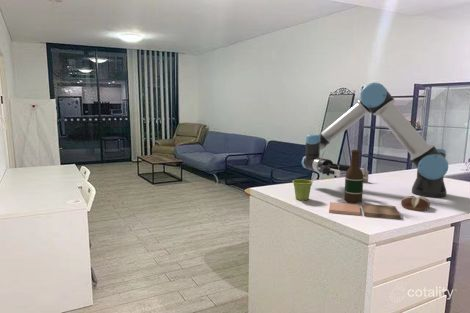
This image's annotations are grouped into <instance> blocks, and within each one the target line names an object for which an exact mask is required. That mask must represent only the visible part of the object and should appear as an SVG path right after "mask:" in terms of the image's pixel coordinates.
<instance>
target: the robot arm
mask: <svg viewBox="0 0 470 313" xmlns="http://www.w3.org/2000/svg"><path fill="white" fill-rule="evenodd" d="M359 96H360V97H359V98H358V99H357V102H356V103H355V104H354V105H353V106H352V107H350V108H349V109H348V110H347V111H346V112H344V113H343V114H342V115H341V116H340V117H339V118H337V119H336V120H335V121H334V122H333V123H331V124H330V125H329V126H327V127H326V128H325V129H324V130H322V131H321V132H320V133H319V134H314V133H313V134H307V135H306V137H305V156H303V157H302V160H301V165H302V167H303V168H304V169H307V170H309V171H314V172H317V173H319V174H320V173H321V174H322V175H326V176H330V175H331V176H335V177H338V178H340V177H341V172H347V170H348V169H349V168H350V164H341V163H339V164H337V163H334V162H333V161H332V160H331V159H328V158H324V157H323V158H322V157H320V156H321V154H320V153H321V152H320V151H321V150H323V149H325V148H326V147H327V146H328V145H329V144H330V143H332V141H334V140H335V139H336V138H338V137H339V136H340V135H341V134H342V133H344V132H346V130H348V129H349V128H350V127H351V126H353V125H355V123H357V122H358V121H359V120H361V118H363V117H364V116H366V115H367V114H372V115H373V116H378V118H380V120H381V121H382V122H383V123H384V125H385V126H386V127H387V128H388V130H389V131H390V132H391V133H392V135H394V137H396V139H397V140H398V142H399V143H400V144H401V145H402V146H403V147H404V149H405V150H406V151H407V152H408V153H409V155H410V161H411V163H412V164H413V165H414V166H415V167H416V178H415V180H414V182H413V184H412V188H411V193H413V195H414V194H415V195H418V196H422V197H428V198H444V197H447V188H446V185H445V181H444V176H445V175H446V174H447V172H448V170H449V162H448V160H447V159H446V156H447V152H446V150H445V149H443V148H437V147H436V146H435V145H434V144H428V143H427V142H426V140H425V139H424V137H423V136H421V134H420V133H419V132H418V131H417V130H416V128H415V127H414V126H413V125H412V124H411V122H409V120H408V119H407V118H406V117H405V116H404V114H403V113H402V111H400V110H399V108H398V107H397V106H396V105H395V98H394V97H393V96H392V95H391V93H390V92H389V91H388V89H387V88H386V87H385V85H383V84H382V83H380V82H371V83H370V82H369V83H367V84H365V85H364V86H363V88H362V89H361V91H360V94H359ZM360 169H361V171H362V173H363V175H364V170H365V168H363V167H360Z"/></svg>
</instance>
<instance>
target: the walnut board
mask: <svg viewBox="0 0 470 313" xmlns="http://www.w3.org/2000/svg"><path fill="white" fill-rule="evenodd" d="M361 208H362V212H363V216H364V217H370V218H381V219H393V220H401V214H400V212H399V211H398V209H397V207H396V205H395V206H393V205H381V204H373V203H372V204H370V203H362V206H361Z"/></svg>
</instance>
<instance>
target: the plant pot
mask: <svg viewBox="0 0 470 313" xmlns="http://www.w3.org/2000/svg"><path fill="white" fill-rule="evenodd" d="M292 183H293V186H294V195H295V196H294V197H295V199H296V200H297V201H298V200H299V201H303V202H304V201H308V200H309V198H310V192H311V188H312V186H313V183H314V181H313V180H310V179H304V178H303V179H301V178H300V179H298V178H297V179H293V180H292Z"/></svg>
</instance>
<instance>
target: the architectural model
mask: <svg viewBox="0 0 470 313" xmlns="http://www.w3.org/2000/svg"><path fill="white" fill-rule="evenodd" d="M363 183H366V184H368V183H369V170H365V169H364V175H363Z"/></svg>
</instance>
